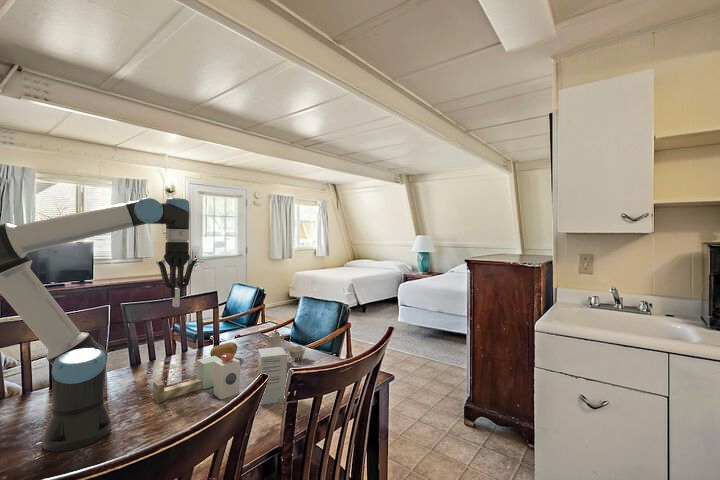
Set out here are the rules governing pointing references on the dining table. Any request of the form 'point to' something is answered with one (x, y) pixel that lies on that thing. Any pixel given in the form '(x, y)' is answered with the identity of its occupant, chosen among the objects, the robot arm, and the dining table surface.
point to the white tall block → (226, 378)
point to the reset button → (227, 357)
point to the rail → (174, 389)
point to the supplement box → (273, 373)
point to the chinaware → (275, 341)
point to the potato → (224, 349)
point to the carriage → (206, 371)
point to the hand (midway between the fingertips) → (175, 306)
